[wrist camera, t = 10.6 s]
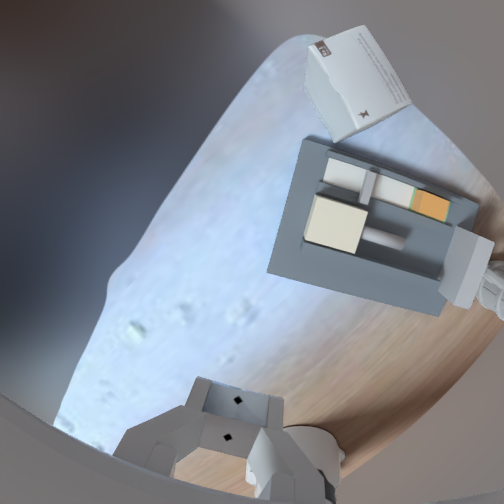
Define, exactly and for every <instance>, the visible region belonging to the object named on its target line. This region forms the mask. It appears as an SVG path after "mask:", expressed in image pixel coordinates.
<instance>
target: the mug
mask: <svg viewBox="0 0 504 504" xmlns="http://www.w3.org/2000/svg"><path fill="white" fill-rule="evenodd" d="M476 297H477V299H478V301H479V303H480V304H481V305H482V306H483V307H484V308H486V309H489V310H493V311H494V312H495V313H496V314H497V315H498V317H499V318H500V319H501V320H503V321H504V261H500V260H499V261H497V260H495V261H489V263H488V264H487V267H486V270H485V272H484V275H483V278H482V280H481V283H480V285H479V288H478V290H477V292H476Z"/></svg>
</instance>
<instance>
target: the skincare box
mask: <svg viewBox="0 0 504 504" xmlns="http://www.w3.org/2000/svg"><path fill="white" fill-rule="evenodd" d="M304 91H305V93H306V95H307V97H308V98H309V100H310V102H311V103H312V105H313V107H314V109H315V111H316V112H317V114H318V116H319V117H320V119H321V121H322V123H323V125H324V126H325V128H326V129H327V131H328V132H329V134H330V136H331V138H332V140H333V142H334V143H338V142H340V141H342V140H344V139H346V138H348V137H351V136H353V135H355V134H357V133H359V132H361V131H364V130H366V129H368V128H370V127H372V126H374V125H376V124H378V123H379V122H381V121H383V120H385V119H386V118H388V117H390V116H392V115H394V114H395V113H397V112H399V111H401V110H402V109H404V108H406V107H407V106H409V105H410V104H412V103H413V102H412V100H411V98H410V96H409V94H408V92H407V91H406V89H405V87H404V85H403V83H402V82H401V80H400V78H399V77H398V75H397V73H396V71H395V70H394V68H393V66H392V65H391V63H390V62H389V60H388V58H387V57H386V55H385V54H384V53H383V51H382V49H381V48H380V46H379V45H378V43H377V42H376V40H375V39H374V37H373V36H372V34H371V33H370V32H369V30H368V29H367V27H366V26H365V25H361V26H358V27H355V28H353V29H350V30H347V31H345V32H342V33H340V34H337V35H334V36H332V37H329V38H326V39H324V40H321V41H319V42H316V43H314V44H311V45H309V46H308V51H307V62H306V73H305V83H304Z"/></svg>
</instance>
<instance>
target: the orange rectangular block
mask: <svg viewBox="0 0 504 504" xmlns="http://www.w3.org/2000/svg"><path fill="white" fill-rule="evenodd" d="M449 203H450V202H449V201H447V200H444V199H442V198H440V197H437V196H435V195H432V194H430V193H427V192H425V191H421V190H417V189H416V192H415V196H414V199H413V203H412V206H411V209H412V210H415V211H417V212H420V213H423V214H425V215H428V216H430V217H433V218H436V219H438V220H441V221H443V222H444V220H445V216H446V213H447V210H448V206H449Z"/></svg>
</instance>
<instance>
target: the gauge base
mask: <svg viewBox="0 0 504 504" xmlns="http://www.w3.org/2000/svg"><path fill="white" fill-rule="evenodd" d="M366 171H370V172H373V173H376V178H375V181H374V185H373V189H372V192H371V196H370V199H369V202H368V205H366V204H362V203H360V202H358V198H359V194H360V191H361V187H362V184H363V180H364V177H365V173H366ZM416 189H417V190H421V191H425V192H427V193H430V194H432V195H435V196H437V197H440V198H442V199H444V200H447V201H449V202H450V203H449V206H448V210H447V213H446V216H445V220H444V222H443V221H441V220H438V219H436V218H433V217H430V216H428V215H425V214H423V213H420V212H417V211H415V210H412V209H411V206H412V203H413V199H414V196H415V192H416ZM315 194H316V195H319V196H322V197H326V198H329V199H332V200H336V201H339V202H342V203H346V204H349V205H352V206H355V207H358V208H362V209H363V210H365V211H367V212H368V214H367V217H366V220H365V223H364V225H365V226H368V227H372V228H375V229H378V230H381V231H384V232H387V233H390V234H394V235H397V236H400V237H403V238H405V245H404V248H403V249H402V250H401V251H400V250H397V249H394V248H391V247H388V246H384V245H381V244H378V243H375V242H371V241H368V240H365V239H361V238H360V239H359V242H358V245H357V248H356V251H355V254H354V253H350V252H347V251H343V250H340V249H336V248H333V247H329V246H325V245H322V244H318V243H315V242H311V241H308V240H305V238H304V231H305V227H306V224H307V220H308V217H309V213H310V210H311V206H312V203H313V199H314V196H315ZM478 209H479V204H477V203H475V202H472V201H470V200H468V199H466V198H464V197H462V196H459V195H457V194H455V193H453V192H451V191H448V190H446V189H444V188H441V187H439V186H437V185H434V184H432V183H430V182H427V181H425V180H422V179H420V178H417V177H415V176H412V175H410V174H407V173H405V172H402V171H399V170H397V169H394V168H391V167H389V166H386V165H383V164H380V163H378V162H375V161H372V160H369V159H366V158H363V157H360V156H357V155H354V154H351V153H348V152H345V151H342V150H339V149H335V148H332V147H329V146H326V145H322V144H319V143H315V142H312V141H308V140H305V139H303V141H302V144H301V148H300V152H299V156H298V160H297V163H296V167H295V171H294V175H293V178H292V182H291V186H290V190H289V193H288V197H287V201H286V204H285V208H284V212H283V215H282V219H281V223H280V226H279V230H278V233H277V237H276V241H275V244H274V248H273V251H272V255H271V258H270V262H269V266H268V269H267V273H270V274H273V275H277V276H281V277H285V278H289V279H292V280H296V281H300V282H304V283H307V284H311V285H315V286H319V287H323V288H327V289H330V290H334V291H338V292H342V293H346V294H350V295H354V296H358V297H361V298H365V299H369V300H373V301H377V302H381V303H385V304H389V305H393V306H397V307H401V308H405V309H409V310H413V311H417V312H421V313H425V314H429V315H433V316H437V317H439V315H440V313H441V311H442V309H443V306H444V304H445V302H446V299H447V300H448V301H449V302H450V303H451V304H452V305H455V306H459V307H462V308H466V309H470V306H471V304H472V302H473V300H474V297H475V295H476V292H477V290H478V288H479V285H480V283H481V280H482V278H483V275H484V272H485V270H486V267H487V264H488V262H489V259H490V256H491V253H492V250H493V247H494V244H495V242H492V241H490V240H488V239H486V238H484V237H481V236H479V235H477V234H475V233H472V229H473V226H474V223H475V219H476V216H477V212H478Z"/></svg>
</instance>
